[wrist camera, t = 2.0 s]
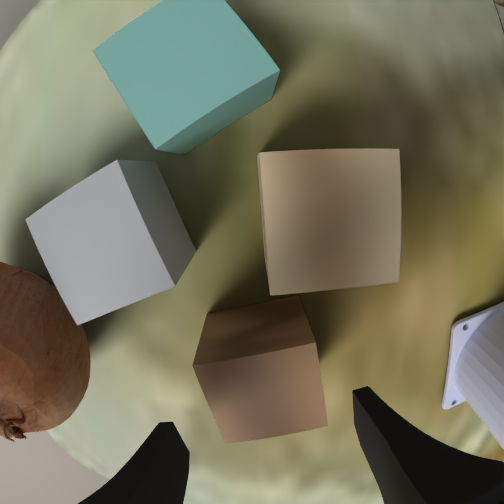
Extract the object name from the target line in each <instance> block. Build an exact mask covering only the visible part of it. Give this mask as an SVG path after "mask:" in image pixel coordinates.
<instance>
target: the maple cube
mask: <svg viewBox="0 0 504 504" xmlns="http://www.w3.org/2000/svg"><path fill="white" fill-rule="evenodd" d="M257 167H258V179H259V191H260V204H261V216H262V229H263V242H264V255H265V263H266V270H267V277H268V284H269V290H270V296H271V295H283V294H294V293H305V292H315V291H325V290H335V289H345V288H354V287H363V286H371V285H380V284H388V283H396V282H399V272H400V253H401V172H400V153H399V149H368V148H361V149H312V150H290V151H273V152H259V154H258V156H257Z"/></svg>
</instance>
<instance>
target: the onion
mask: <svg viewBox="0 0 504 504" xmlns="http://www.w3.org/2000/svg"><path fill="white" fill-rule="evenodd" d="M50 283H51V282H50ZM50 283H49V282H47V281H46V280H44V279H43V278H41V277H40V276H38V275H36V274H35V273H32V272H30V271H27V270H24V269H21V268H18V267H15V266H11V265H8V264H5V263H3V262H0V435H1V436H3V437H5V438H7V439H9V440H11V441H13V442H14V440H12V439H11V438H10V437H12V436H14V437H15V438H26V436H24V435H23V433H26V432H39V431H44V430H48V429H51V428H54V427H56V426H58V425H60V424H61V423H63V422H64V421H65V420H67V419H68V418H69V417H70V416H71V415H72V414H73V412H74V411H75V410H76V409H77V407H78V405H79V404H80V402H81V400H82V399H83V397H84V394H85V392H86V390H87V387H88V382H89V377H90V351H89V345H88V340H87V336H86V333H85V330H84V328H83V326H82V324H80V325H77V324H76V322H75V321H74V319H73V317H72V315H71V314H70V312H69V310H68V308H67V306H66V305H65V303H64V301H63V299H62V297H61V295H60V294H59V292H58V290H57V289H56V288H55V287H54V286H53V285H51V284H50Z"/></svg>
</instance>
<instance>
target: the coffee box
mask: <svg viewBox="0 0 504 504" xmlns="http://www.w3.org/2000/svg"><path fill="white" fill-rule="evenodd" d="M494 3H495V5H496V8H497V11H498V14H499V17H500V20H501V23H502V26H503V29H504V0H494Z"/></svg>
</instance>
